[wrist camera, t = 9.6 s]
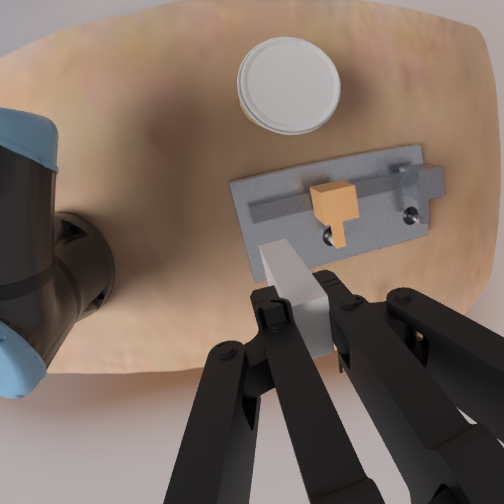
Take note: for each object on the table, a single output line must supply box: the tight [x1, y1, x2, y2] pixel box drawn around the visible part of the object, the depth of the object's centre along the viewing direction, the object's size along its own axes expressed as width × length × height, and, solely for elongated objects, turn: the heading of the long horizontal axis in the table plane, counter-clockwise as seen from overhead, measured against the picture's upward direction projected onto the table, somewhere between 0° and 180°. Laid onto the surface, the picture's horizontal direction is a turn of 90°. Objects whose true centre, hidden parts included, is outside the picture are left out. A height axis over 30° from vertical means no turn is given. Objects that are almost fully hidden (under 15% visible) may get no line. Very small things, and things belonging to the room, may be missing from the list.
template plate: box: [229, 144, 445, 282], centre depth 38 cm, size 26×13×8 cm, turn 103°
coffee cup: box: [237, 37, 341, 135], centre depth 30 cm, size 9×9×12 cm
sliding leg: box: [310, 180, 359, 248], centre depth 36 cm, size 4×8×6 cm, turn 13°
